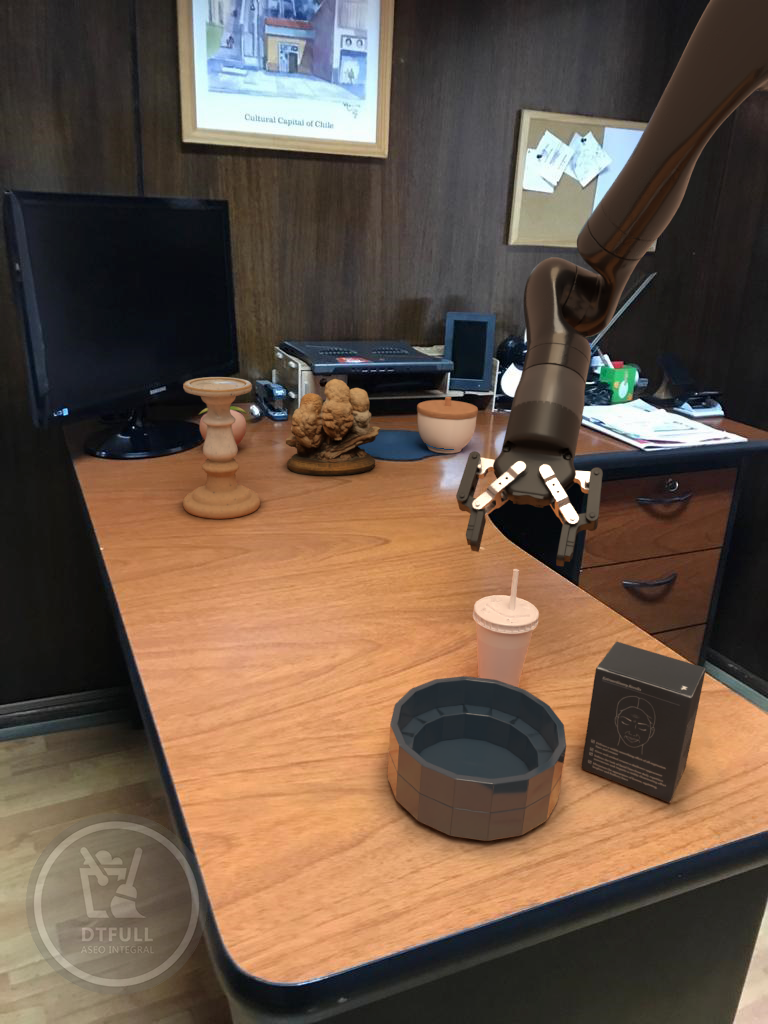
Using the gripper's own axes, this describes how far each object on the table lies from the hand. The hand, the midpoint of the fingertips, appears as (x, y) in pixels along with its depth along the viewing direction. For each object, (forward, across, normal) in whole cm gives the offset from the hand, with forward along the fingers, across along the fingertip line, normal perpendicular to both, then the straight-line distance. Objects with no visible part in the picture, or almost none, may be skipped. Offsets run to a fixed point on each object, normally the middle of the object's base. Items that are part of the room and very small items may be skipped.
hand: (516, 555), depth 76 cm
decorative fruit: (-33, -67, +53) cm, 92 cm away
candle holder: (-13, -52, +34) cm, 64 cm away
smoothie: (+12, 0, +8) cm, 15 cm away
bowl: (+22, 0, -2) cm, 22 cm away
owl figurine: (-33, -44, +53) cm, 77 cm away
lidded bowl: (-49, -28, +69) cm, 89 cm away
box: (+17, +14, +3) cm, 22 cm away
